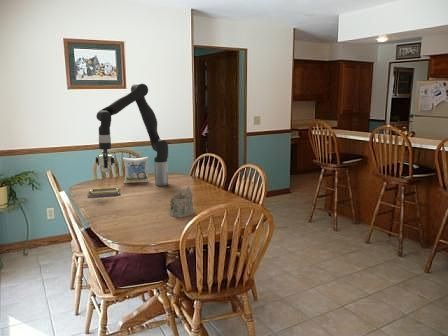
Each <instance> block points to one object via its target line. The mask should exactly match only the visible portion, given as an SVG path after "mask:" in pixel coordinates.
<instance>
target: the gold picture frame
mask: <svg viewBox="0 0 448 336" xmlns="http://www.w3.org/2000/svg"><path fill="white" fill-rule="evenodd" d="M115 196H116V197H117V196H118V197H119V196H122V195H121V188H118V187H117V186H115V187H102V188H91V189H90V190H88V195H87V197H88V199H90V198H101V197H102V198H104V197H115Z"/></svg>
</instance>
